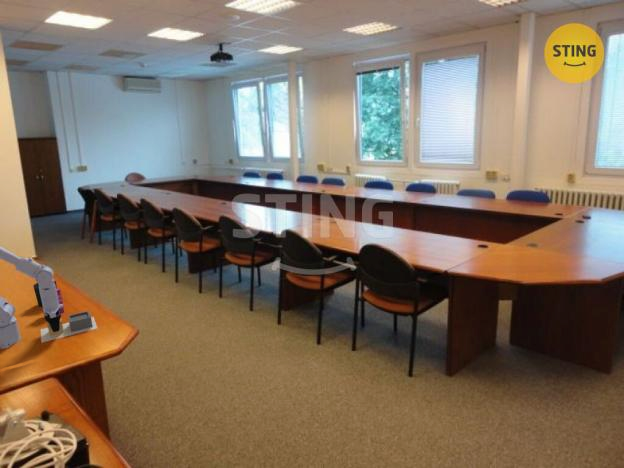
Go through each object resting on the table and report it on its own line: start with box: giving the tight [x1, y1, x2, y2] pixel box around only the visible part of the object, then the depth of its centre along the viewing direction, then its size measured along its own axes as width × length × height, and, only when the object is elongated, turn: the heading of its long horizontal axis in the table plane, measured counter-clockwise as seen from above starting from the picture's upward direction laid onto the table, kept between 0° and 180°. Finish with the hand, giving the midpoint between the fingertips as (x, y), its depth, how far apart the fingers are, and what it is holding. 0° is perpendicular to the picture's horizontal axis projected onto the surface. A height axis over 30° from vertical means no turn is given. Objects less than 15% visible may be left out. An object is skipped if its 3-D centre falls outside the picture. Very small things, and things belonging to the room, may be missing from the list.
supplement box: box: [43, 288, 65, 318], centre depth 198 cm, size 6×6×12 cm
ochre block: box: [46, 317, 64, 336], centre depth 179 cm, size 5×5×5 cm
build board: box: [40, 316, 98, 344], centre depth 182 cm, size 20×14×1 cm
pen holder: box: [32, 280, 58, 307], centre depth 211 cm, size 9×9×10 cm
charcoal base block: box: [67, 310, 93, 332], centre depth 183 cm, size 8×8×4 cm
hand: (55, 327), depth 179 cm, fingers open, 7 cm apart
